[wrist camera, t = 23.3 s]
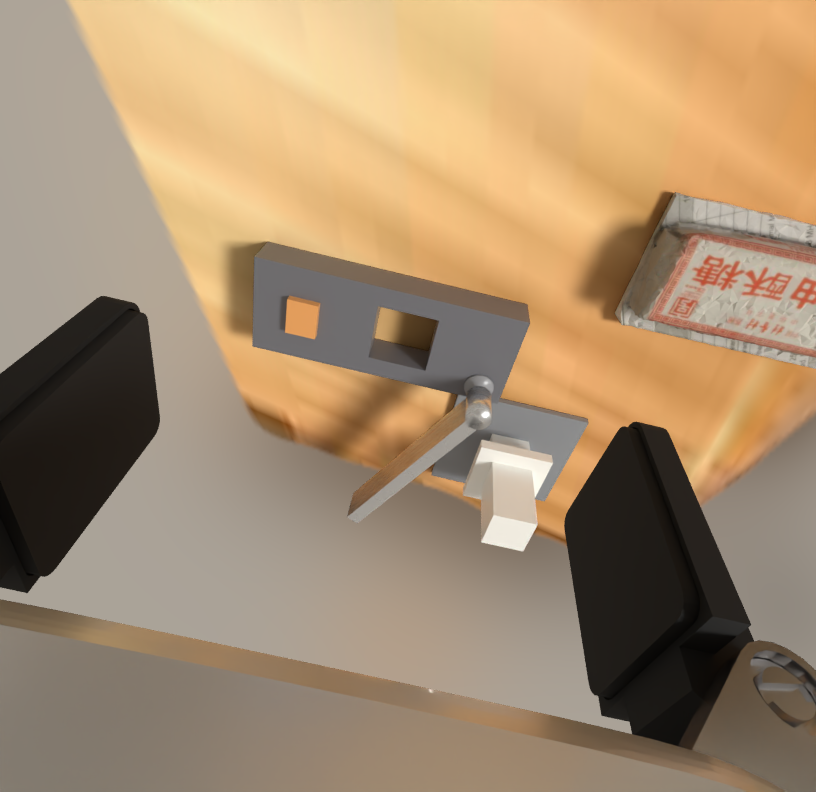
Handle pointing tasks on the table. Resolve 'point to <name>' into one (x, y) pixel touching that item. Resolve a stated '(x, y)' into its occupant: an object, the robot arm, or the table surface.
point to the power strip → (358, 316)
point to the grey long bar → (424, 452)
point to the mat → (522, 423)
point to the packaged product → (728, 280)
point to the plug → (507, 489)
